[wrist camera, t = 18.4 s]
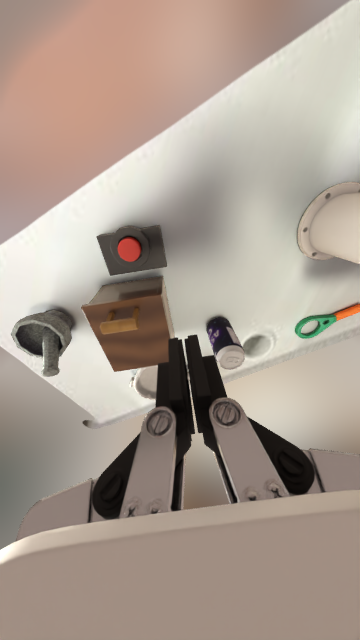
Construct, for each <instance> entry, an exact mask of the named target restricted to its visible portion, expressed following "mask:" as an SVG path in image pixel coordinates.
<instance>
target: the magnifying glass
mask: <svg viewBox="0 0 360 640" xmlns="http://www.w3.org/2000/svg"><path fill="white" fill-rule="evenodd" d="M358 312H360V304H358V305H355V306H353V307H350V308H348V309H345V310H342V311H340V312H337V313H335V314H332V315H321V316H310V317H307V318H305V319H303V320H302V321H300V322H299V323H298V324H297V326H296V328H295V332H296V334H297V335H298V336H299V337H300V338H303V339H307V338H312V337H314V336H316V335H318V334H319V333H321V332H322V331H323V330H325V329H326V328H327V327H329V326H330V325H331V324H333V323H334V322H336V321H338V320H340V319H343V318H345V317H348V316H350V315H353V314H356V313H358ZM313 320H317V321H319V326H318V328H317V329H316V330H315V331H314V332H312V333H310V334H302V333H301V329H302V327H303V326H304V325H305V324H306V323H307V322H309V321H313ZM325 320H327V321H326V322H325V323H323V322H324V321H325Z"/></svg>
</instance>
